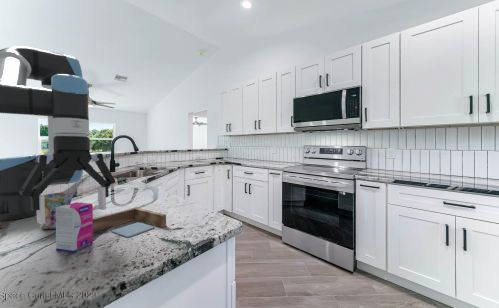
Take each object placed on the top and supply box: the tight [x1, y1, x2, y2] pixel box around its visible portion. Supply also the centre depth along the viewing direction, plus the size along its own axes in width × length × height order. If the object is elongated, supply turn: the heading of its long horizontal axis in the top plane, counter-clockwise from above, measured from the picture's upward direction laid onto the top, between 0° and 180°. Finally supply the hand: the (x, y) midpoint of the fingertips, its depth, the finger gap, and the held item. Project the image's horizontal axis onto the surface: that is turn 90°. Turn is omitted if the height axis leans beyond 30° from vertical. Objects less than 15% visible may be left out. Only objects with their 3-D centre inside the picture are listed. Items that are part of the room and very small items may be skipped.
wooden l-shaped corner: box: [93, 207, 167, 233], centre depth 71 cm, size 17×19×4 cm
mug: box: [39, 191, 75, 230], centre depth 76 cm, size 12×9×11 cm
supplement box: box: [55, 201, 94, 253], centre depth 60 cm, size 6×6×12 cm
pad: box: [110, 221, 155, 238], centre depth 72 cm, size 9×9×1 cm
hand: (74, 215), depth 59 cm, fingers open, 13 cm apart
